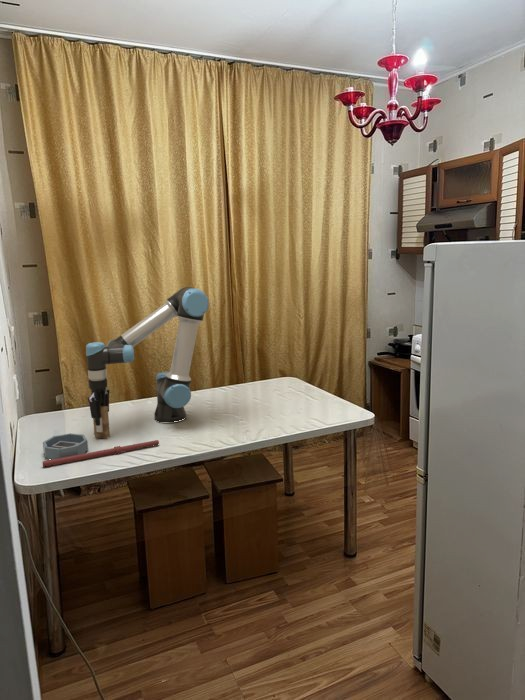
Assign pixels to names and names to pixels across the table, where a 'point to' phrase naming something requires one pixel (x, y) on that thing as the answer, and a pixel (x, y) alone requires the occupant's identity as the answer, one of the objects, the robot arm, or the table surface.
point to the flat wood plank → (103, 423)
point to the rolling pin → (98, 453)
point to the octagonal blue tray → (65, 446)
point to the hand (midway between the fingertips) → (101, 430)
